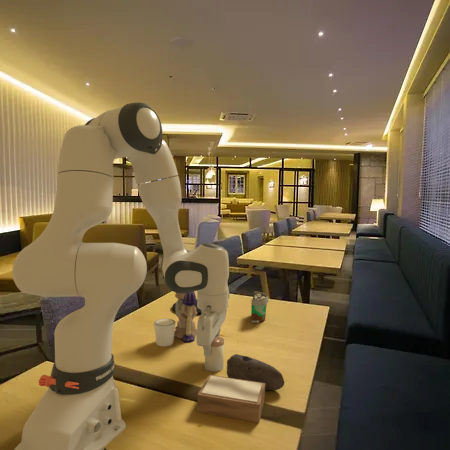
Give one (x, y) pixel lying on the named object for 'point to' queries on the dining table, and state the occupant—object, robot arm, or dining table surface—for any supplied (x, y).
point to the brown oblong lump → (254, 371)
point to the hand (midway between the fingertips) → (212, 347)
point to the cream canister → (215, 355)
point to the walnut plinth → (232, 398)
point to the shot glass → (164, 332)
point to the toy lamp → (189, 315)
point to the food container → (258, 307)
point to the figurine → (183, 317)
